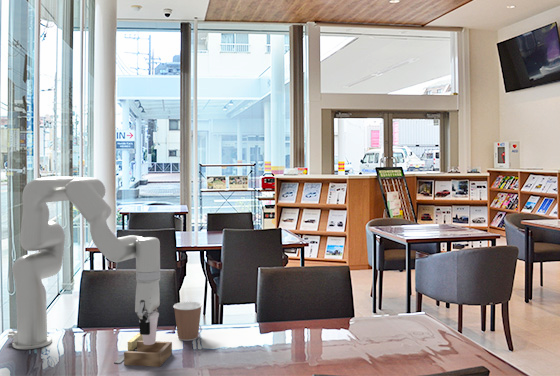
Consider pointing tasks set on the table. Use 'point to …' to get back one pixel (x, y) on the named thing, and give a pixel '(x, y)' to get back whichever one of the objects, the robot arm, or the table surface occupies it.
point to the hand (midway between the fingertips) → (149, 330)
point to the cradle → (147, 354)
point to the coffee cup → (187, 320)
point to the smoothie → (151, 329)
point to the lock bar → (134, 342)
